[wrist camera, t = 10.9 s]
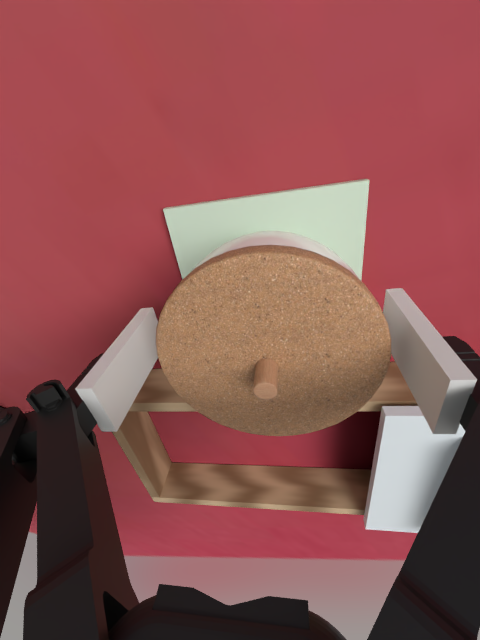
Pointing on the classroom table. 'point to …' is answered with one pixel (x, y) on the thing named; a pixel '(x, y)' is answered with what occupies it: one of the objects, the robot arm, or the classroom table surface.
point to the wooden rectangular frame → (243, 480)
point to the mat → (274, 221)
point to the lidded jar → (273, 336)
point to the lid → (406, 469)
